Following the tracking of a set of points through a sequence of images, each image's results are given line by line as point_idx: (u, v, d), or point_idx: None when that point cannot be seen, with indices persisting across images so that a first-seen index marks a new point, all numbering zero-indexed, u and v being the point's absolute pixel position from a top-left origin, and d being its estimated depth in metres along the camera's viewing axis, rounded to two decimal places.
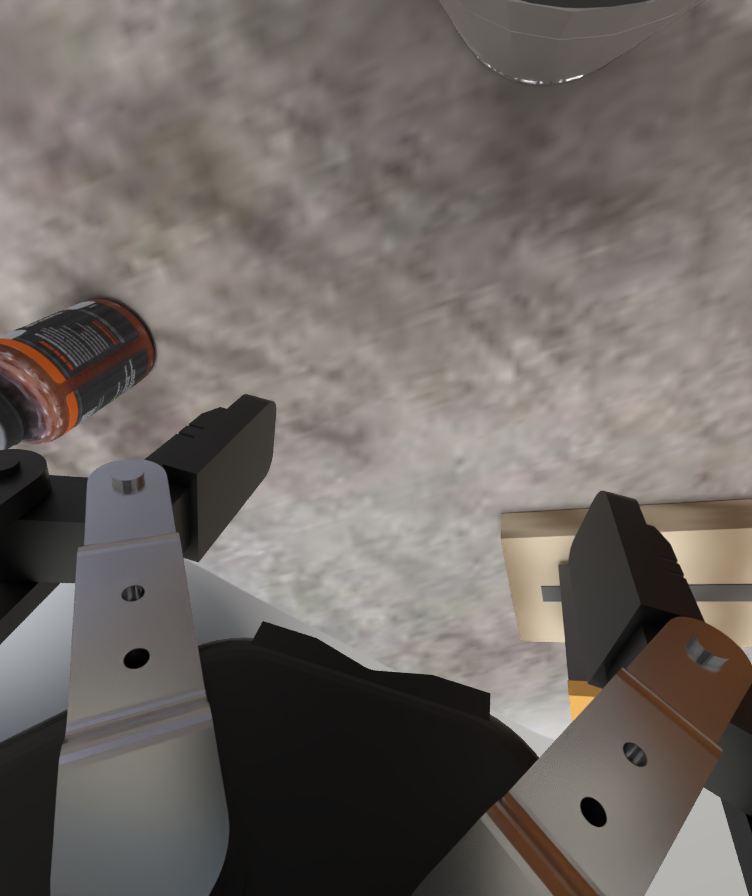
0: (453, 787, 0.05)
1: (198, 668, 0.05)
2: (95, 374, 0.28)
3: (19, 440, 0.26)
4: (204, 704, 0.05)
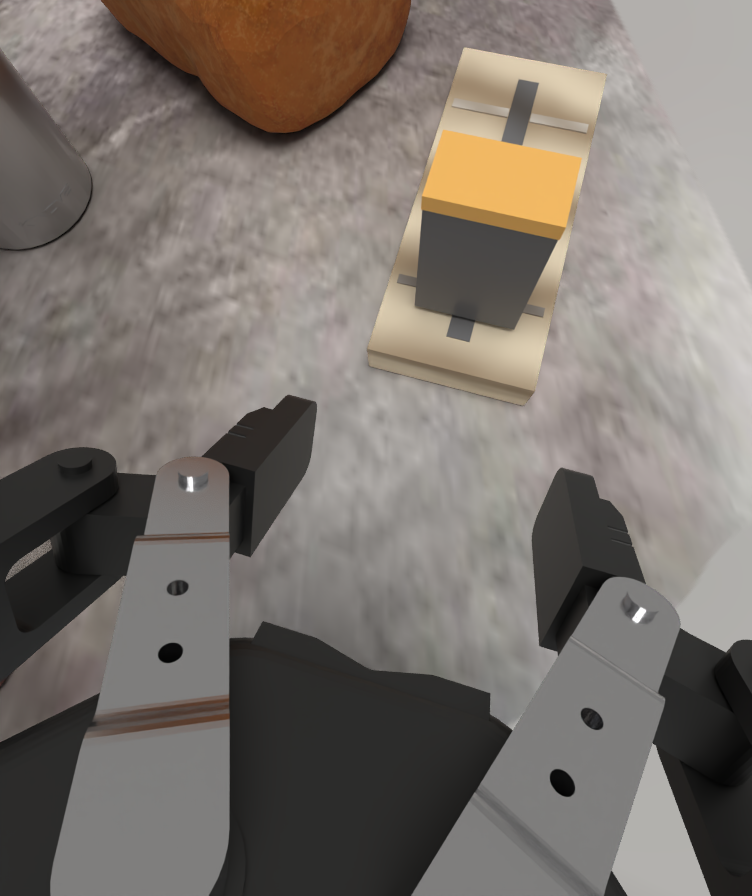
0: (453, 787, 0.05)
1: (226, 671, 0.05)
2: None
3: None
4: (225, 710, 0.05)
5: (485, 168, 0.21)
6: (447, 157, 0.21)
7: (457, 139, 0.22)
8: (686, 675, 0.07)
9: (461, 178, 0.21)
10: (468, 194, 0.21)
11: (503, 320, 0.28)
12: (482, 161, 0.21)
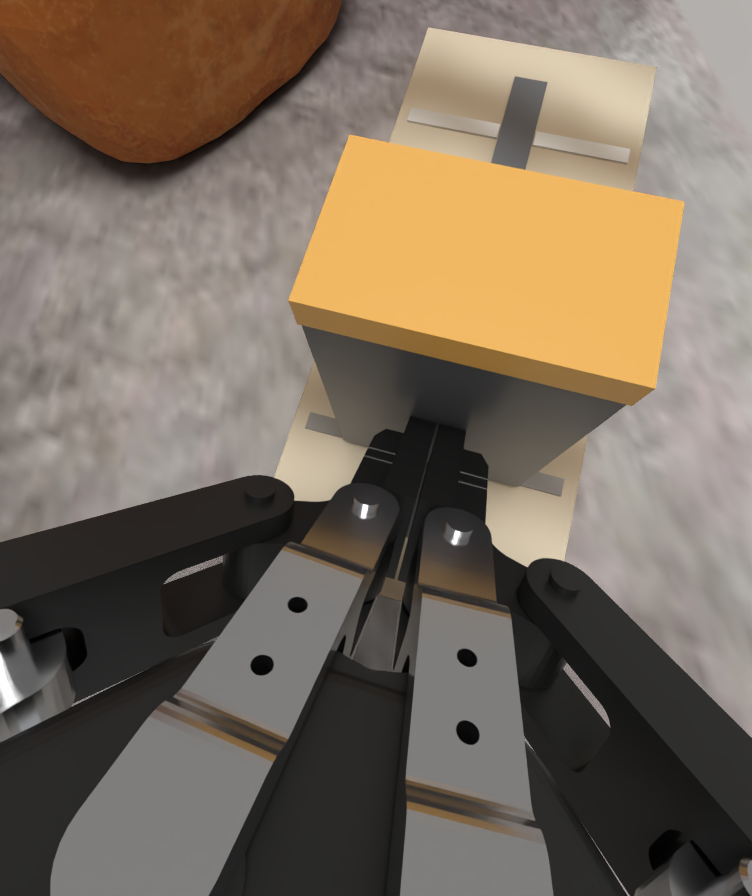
0: None
1: (299, 710, 0.05)
2: None
3: None
4: (275, 750, 0.04)
5: (447, 229, 0.09)
6: (358, 201, 0.09)
7: (382, 158, 0.09)
8: None
9: (388, 254, 0.09)
10: (404, 296, 0.08)
11: (497, 476, 0.16)
12: (440, 211, 0.09)
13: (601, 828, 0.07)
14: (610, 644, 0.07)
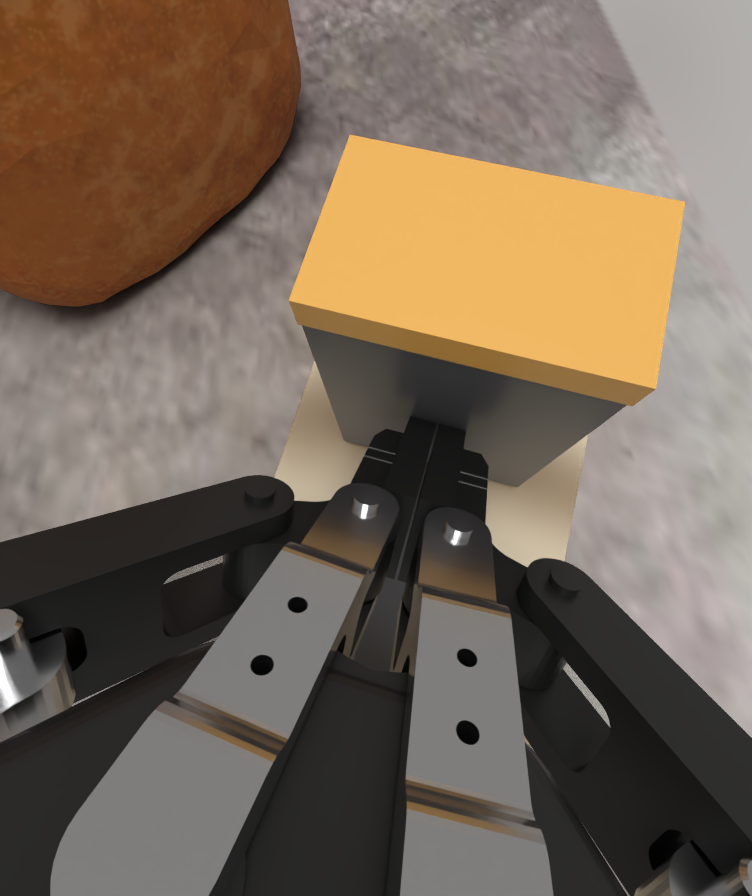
0: None
1: (299, 710, 0.05)
2: None
3: None
4: (274, 750, 0.04)
5: (448, 229, 0.09)
6: (358, 201, 0.09)
7: (382, 158, 0.09)
8: None
9: (388, 255, 0.09)
10: (404, 296, 0.08)
11: (498, 476, 0.16)
12: (441, 211, 0.09)
13: (601, 828, 0.07)
14: (610, 644, 0.07)
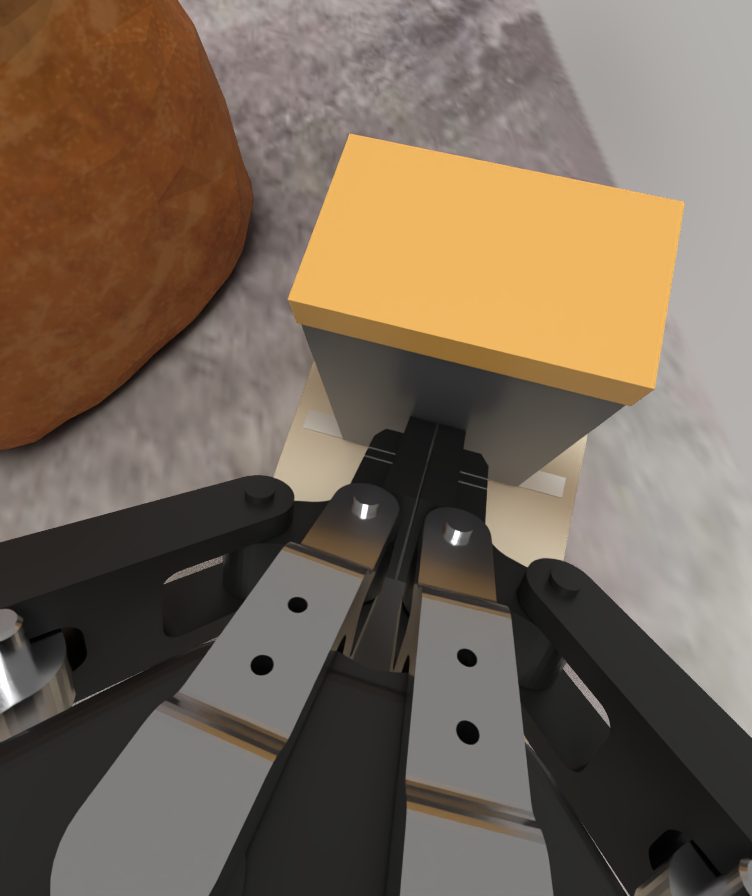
0: None
1: (299, 710, 0.05)
2: None
3: None
4: (275, 750, 0.04)
5: (447, 228, 0.09)
6: (357, 200, 0.09)
7: (382, 157, 0.09)
8: None
9: (387, 254, 0.09)
10: (403, 296, 0.08)
11: (497, 476, 0.16)
12: (440, 211, 0.09)
13: (601, 828, 0.07)
14: (610, 644, 0.07)
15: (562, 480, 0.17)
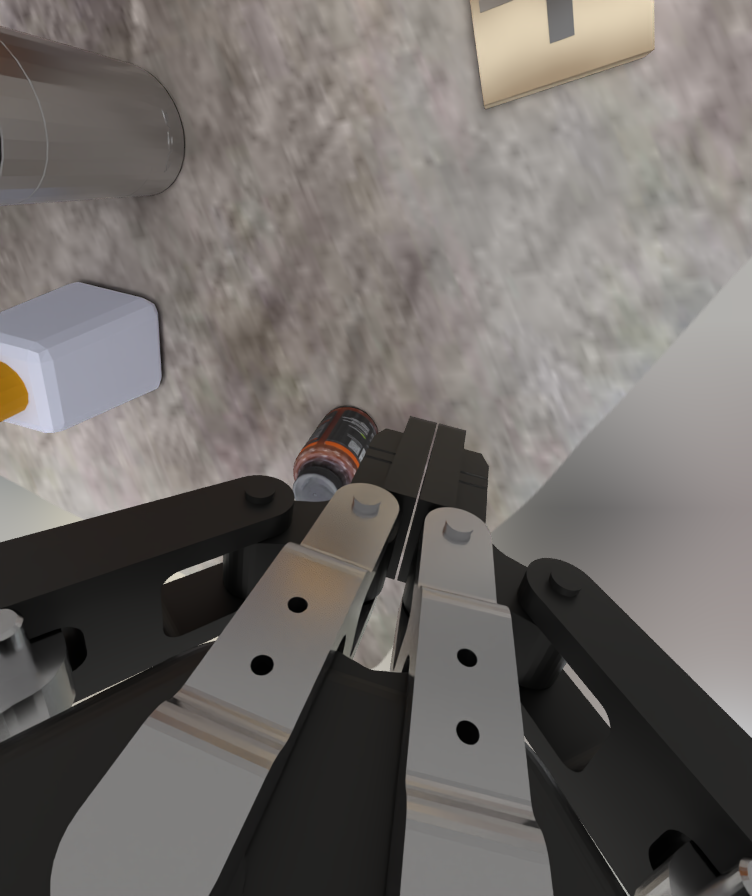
0: None
1: (299, 710, 0.05)
2: (330, 431, 0.43)
3: (335, 475, 0.40)
4: (275, 750, 0.04)
5: None
6: None
7: None
8: None
9: None
10: None
11: None
12: None
13: (601, 828, 0.07)
14: (610, 644, 0.07)
15: None
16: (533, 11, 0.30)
